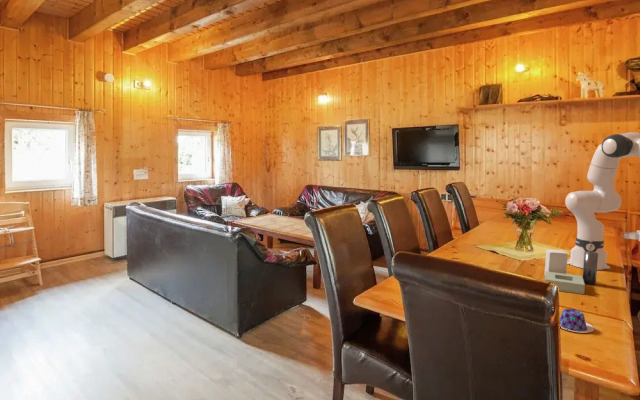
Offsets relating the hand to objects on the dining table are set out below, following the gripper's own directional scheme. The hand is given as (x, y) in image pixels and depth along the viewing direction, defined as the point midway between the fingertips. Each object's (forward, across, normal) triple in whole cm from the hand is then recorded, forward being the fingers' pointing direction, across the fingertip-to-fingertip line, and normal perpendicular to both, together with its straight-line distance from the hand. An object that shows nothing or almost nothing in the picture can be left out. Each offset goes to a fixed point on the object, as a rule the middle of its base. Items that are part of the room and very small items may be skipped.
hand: (623, 235), depth 165 cm
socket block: (+22, +11, +22) cm, 33 cm away
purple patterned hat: (+15, +55, +27) cm, 63 cm away
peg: (+13, -1, +22) cm, 25 cm away
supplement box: (+26, -2, +21) cm, 33 cm away
